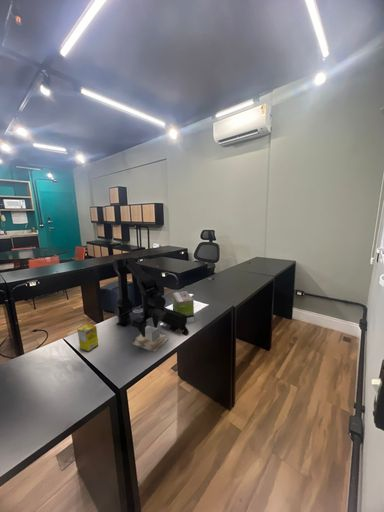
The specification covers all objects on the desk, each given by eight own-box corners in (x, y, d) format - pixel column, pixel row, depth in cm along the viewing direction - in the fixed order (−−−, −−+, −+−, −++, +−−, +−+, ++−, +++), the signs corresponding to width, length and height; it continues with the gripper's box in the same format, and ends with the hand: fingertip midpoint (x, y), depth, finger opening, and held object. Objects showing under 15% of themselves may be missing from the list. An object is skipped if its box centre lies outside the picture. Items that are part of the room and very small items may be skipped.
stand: (132, 344, 106) (132, 338, 106) (146, 333, 116) (146, 328, 115) (155, 352, 100) (154, 346, 99) (168, 340, 109) (168, 334, 109)
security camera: (183, 337, 111) (183, 320, 109) (158, 327, 122) (157, 310, 120) (191, 332, 116) (191, 315, 114) (167, 322, 127) (166, 306, 125)
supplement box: (98, 345, 106) (96, 325, 103) (88, 352, 100) (85, 331, 98) (90, 342, 108) (87, 323, 106) (79, 349, 103) (77, 328, 101)
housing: (140, 337, 107) (140, 330, 106) (147, 332, 111) (146, 325, 110) (153, 341, 103) (153, 334, 102) (159, 336, 108) (159, 329, 107)
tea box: (172, 314, 138) (171, 292, 135) (187, 311, 140) (187, 290, 137) (178, 325, 123) (177, 301, 120) (194, 322, 126) (194, 299, 123)
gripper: (149, 314, 92) (150, 346, 95) (172, 298, 108) (173, 327, 111) (129, 309, 97) (132, 340, 100) (155, 295, 113) (156, 322, 116)
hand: (150, 332), depth 107 cm, fingers open, 9 cm apart
